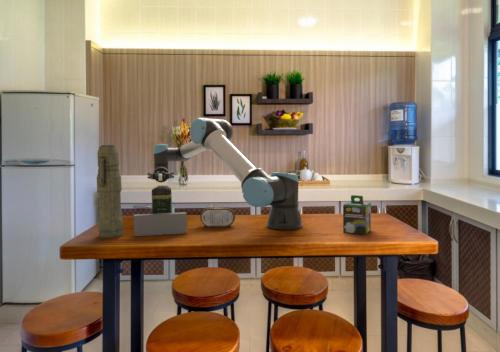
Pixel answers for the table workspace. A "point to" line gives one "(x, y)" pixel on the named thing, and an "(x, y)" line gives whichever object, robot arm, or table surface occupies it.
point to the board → (160, 224)
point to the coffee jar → (161, 200)
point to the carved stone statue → (109, 193)
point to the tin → (217, 216)
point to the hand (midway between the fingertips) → (160, 177)
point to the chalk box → (357, 216)
